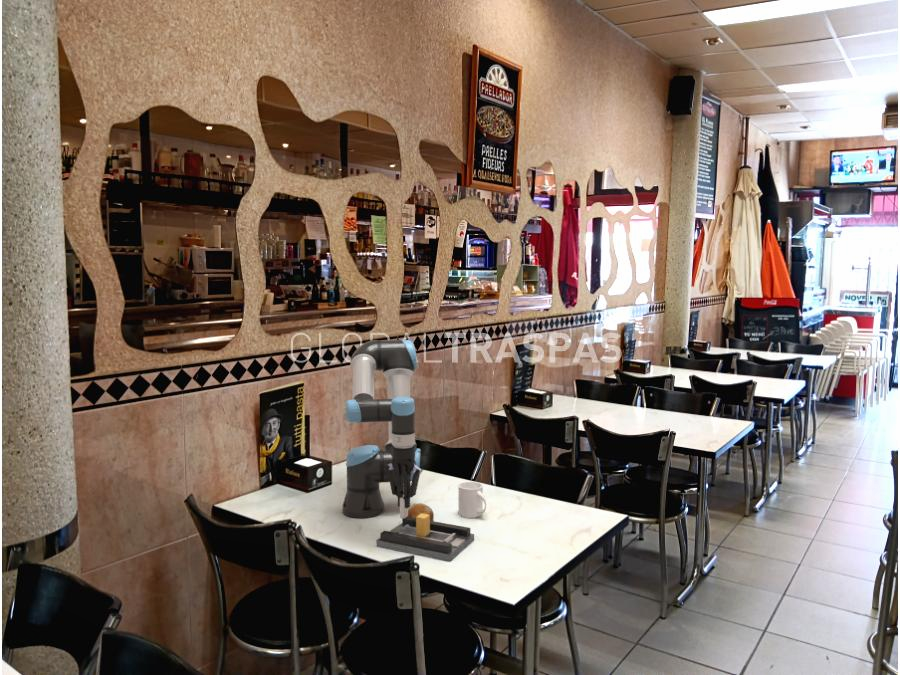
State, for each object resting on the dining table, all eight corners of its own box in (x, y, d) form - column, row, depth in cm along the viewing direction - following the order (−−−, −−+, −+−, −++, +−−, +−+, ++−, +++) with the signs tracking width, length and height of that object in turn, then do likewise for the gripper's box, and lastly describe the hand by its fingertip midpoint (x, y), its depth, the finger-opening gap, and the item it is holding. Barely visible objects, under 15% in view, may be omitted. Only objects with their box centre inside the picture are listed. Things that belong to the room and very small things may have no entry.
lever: (415, 537, 224) (415, 517, 223) (422, 533, 228) (422, 512, 227) (424, 539, 222) (423, 518, 222) (430, 534, 226) (430, 514, 226)
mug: (476, 523, 242) (476, 493, 241) (453, 514, 251) (453, 485, 249) (494, 517, 247) (494, 487, 246) (470, 508, 256) (470, 479, 255)
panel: (376, 546, 222) (376, 533, 222) (404, 526, 238) (404, 515, 238) (450, 561, 211) (450, 548, 211) (474, 539, 227) (474, 527, 227)
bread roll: (436, 529, 246) (439, 506, 248) (426, 527, 236) (430, 503, 239) (409, 526, 249) (413, 503, 251) (399, 523, 240) (403, 500, 242)
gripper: (379, 446, 224) (380, 517, 226) (415, 450, 219) (416, 523, 221) (391, 441, 231) (392, 510, 233) (426, 445, 225) (427, 516, 228)
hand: (404, 516), depth 227 cm, fingers closed
